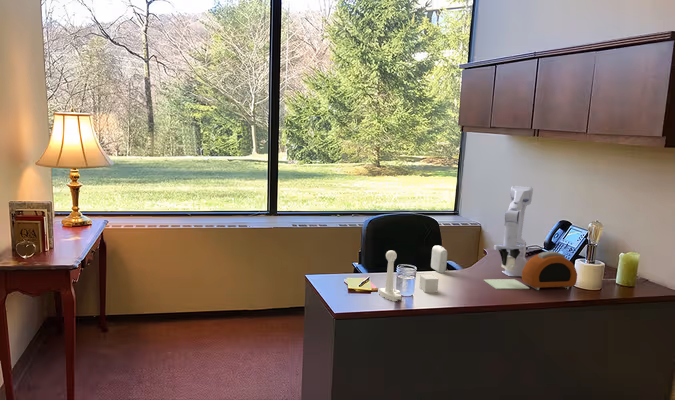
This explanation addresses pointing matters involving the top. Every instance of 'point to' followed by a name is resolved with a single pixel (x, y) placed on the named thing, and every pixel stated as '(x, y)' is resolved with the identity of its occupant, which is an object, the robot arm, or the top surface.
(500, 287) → the rubber mat
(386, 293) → the joystick
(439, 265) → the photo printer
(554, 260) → the orange toaster
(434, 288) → the white cube
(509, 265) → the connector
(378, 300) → the top surface
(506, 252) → the robot arm
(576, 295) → the top surface
